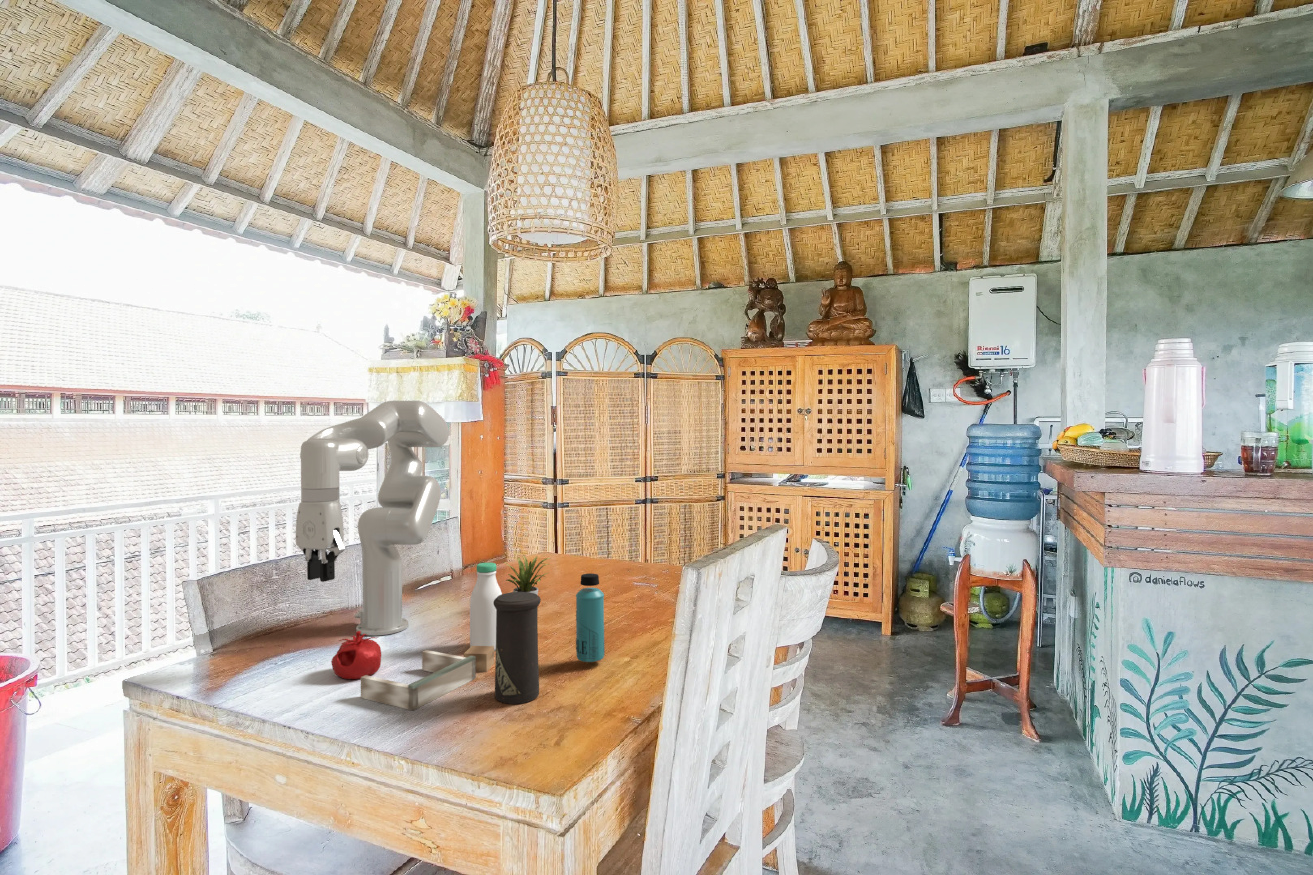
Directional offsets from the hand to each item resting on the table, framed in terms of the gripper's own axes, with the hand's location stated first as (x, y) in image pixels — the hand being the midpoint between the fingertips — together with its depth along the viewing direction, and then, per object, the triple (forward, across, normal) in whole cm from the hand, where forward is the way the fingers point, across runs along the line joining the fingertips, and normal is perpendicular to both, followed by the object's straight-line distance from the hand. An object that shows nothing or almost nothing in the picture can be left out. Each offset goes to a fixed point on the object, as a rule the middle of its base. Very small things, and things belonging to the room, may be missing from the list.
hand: (321, 578), depth 144 cm
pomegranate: (+20, +11, 0) cm, 22 cm away
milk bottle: (+19, +25, +25) cm, 40 cm away
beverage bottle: (+19, +53, +26) cm, 62 cm away
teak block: (+19, +32, +14) cm, 40 cm away
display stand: (+19, +29, 0) cm, 35 cm away
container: (+19, +49, +5) cm, 53 cm away
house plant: (+19, +16, +55) cm, 60 cm away
